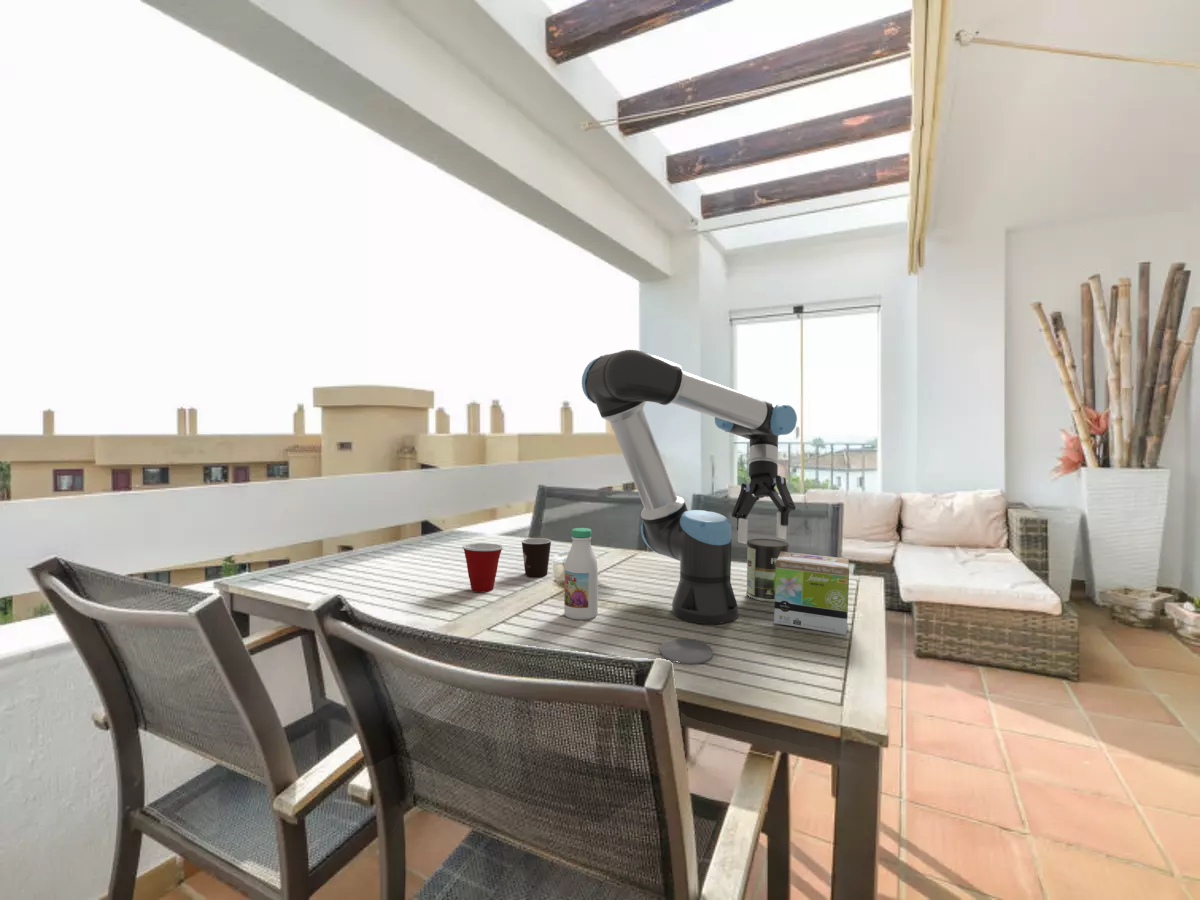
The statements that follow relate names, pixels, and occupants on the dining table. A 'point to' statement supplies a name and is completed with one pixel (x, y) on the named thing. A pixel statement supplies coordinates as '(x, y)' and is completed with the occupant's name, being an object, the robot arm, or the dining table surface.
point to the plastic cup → (482, 565)
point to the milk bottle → (581, 577)
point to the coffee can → (763, 567)
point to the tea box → (812, 592)
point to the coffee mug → (536, 556)
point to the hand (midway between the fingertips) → (761, 541)
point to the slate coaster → (686, 651)
